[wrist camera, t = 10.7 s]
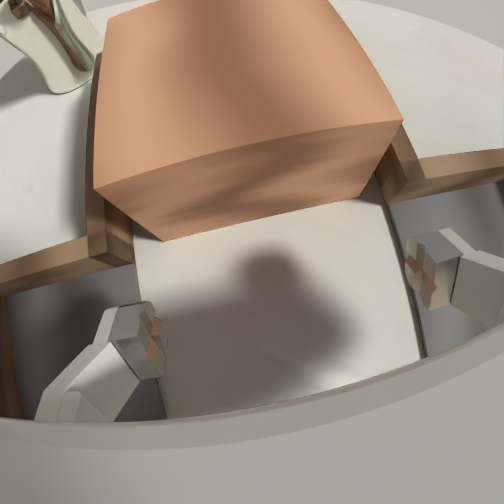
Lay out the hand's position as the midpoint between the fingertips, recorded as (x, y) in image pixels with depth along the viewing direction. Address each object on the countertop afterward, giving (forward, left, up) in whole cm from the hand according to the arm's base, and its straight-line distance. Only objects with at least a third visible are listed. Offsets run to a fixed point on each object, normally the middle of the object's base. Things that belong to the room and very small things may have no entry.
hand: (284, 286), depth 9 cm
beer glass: (-11, +21, -5) cm, 24 cm away
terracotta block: (0, +9, -5) cm, 11 cm away
